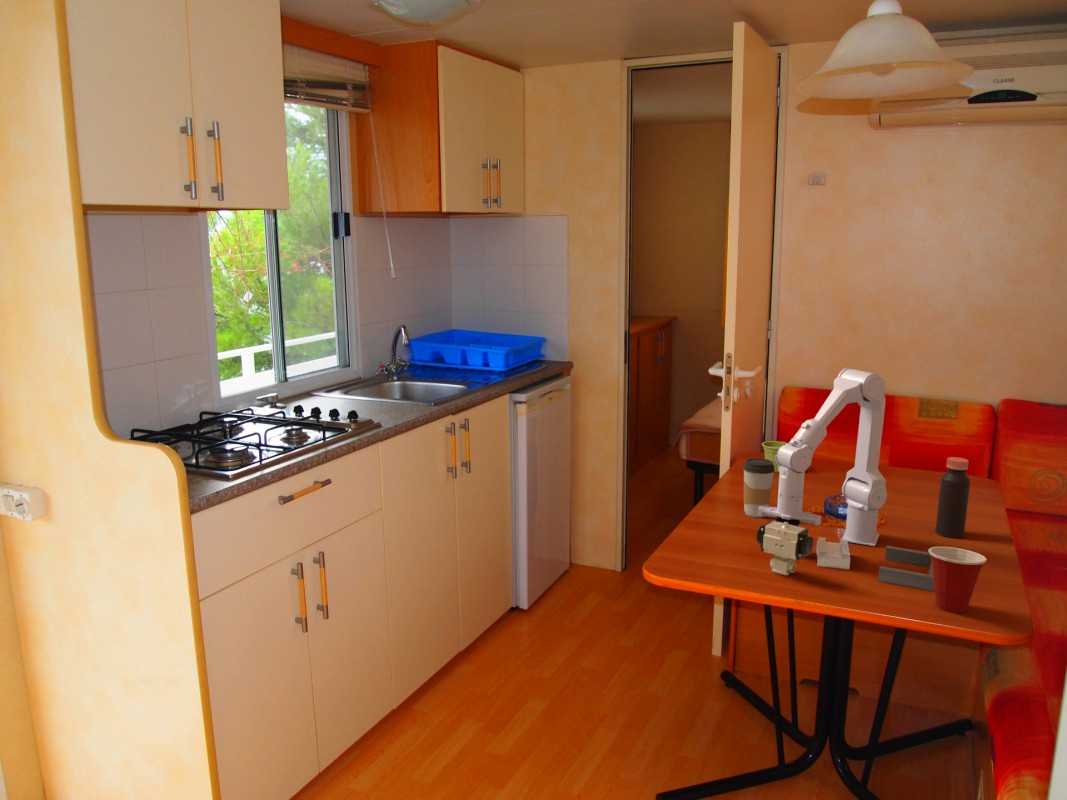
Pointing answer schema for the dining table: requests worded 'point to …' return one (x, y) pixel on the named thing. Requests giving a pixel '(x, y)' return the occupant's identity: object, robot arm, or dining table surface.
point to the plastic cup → (954, 576)
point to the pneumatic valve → (784, 545)
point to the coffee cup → (757, 484)
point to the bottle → (953, 499)
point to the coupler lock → (833, 554)
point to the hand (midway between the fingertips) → (786, 547)
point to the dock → (907, 576)
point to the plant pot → (772, 451)
